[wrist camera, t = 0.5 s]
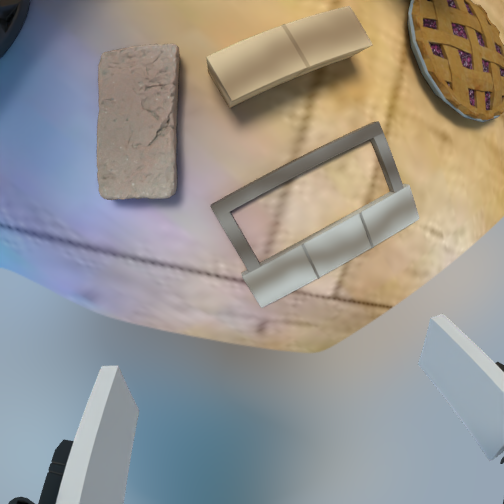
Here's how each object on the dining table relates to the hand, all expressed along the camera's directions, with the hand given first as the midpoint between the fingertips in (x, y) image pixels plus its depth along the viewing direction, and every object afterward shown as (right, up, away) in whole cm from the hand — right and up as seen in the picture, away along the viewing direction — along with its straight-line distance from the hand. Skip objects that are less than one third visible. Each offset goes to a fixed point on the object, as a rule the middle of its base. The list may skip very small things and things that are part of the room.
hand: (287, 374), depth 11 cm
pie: (+28, +34, +18) cm, 48 cm away
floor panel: (+6, +10, +24) cm, 27 cm away
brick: (-13, +19, +19) cm, 30 cm away
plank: (+2, +26, +18) cm, 32 cm away
